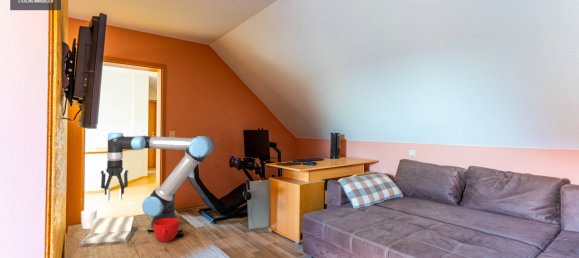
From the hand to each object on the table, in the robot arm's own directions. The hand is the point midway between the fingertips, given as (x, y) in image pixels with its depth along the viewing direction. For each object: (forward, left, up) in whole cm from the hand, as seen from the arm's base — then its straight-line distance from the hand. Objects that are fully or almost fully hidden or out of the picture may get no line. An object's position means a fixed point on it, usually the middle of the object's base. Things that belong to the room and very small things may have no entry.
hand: (114, 199), depth 167 cm
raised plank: (0, +2, -15) cm, 15 cm away
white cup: (+17, -14, -19) cm, 29 cm away
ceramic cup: (-30, +20, -19) cm, 41 cm away
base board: (0, +7, -19) cm, 20 cm away
